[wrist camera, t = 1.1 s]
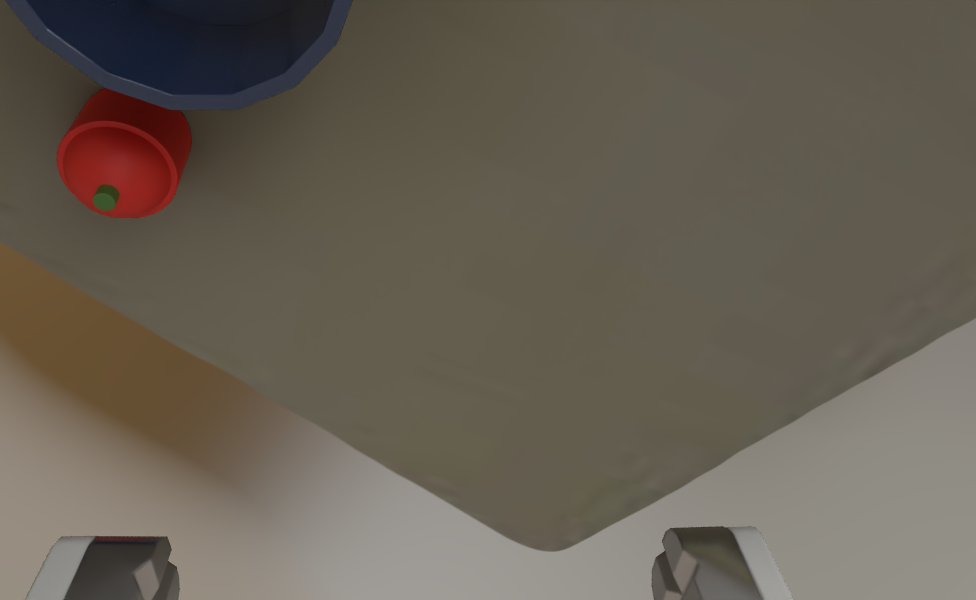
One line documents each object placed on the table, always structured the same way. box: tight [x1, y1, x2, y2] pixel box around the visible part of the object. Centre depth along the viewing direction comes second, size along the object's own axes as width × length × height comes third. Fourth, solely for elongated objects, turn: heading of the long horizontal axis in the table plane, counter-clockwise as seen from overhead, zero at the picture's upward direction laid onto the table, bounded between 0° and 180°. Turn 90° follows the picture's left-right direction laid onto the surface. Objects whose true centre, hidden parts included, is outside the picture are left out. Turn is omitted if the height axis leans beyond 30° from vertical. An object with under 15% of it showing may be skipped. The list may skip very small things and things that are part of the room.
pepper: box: [57, 88, 191, 218], centre depth 36 cm, size 6×6×8 cm
